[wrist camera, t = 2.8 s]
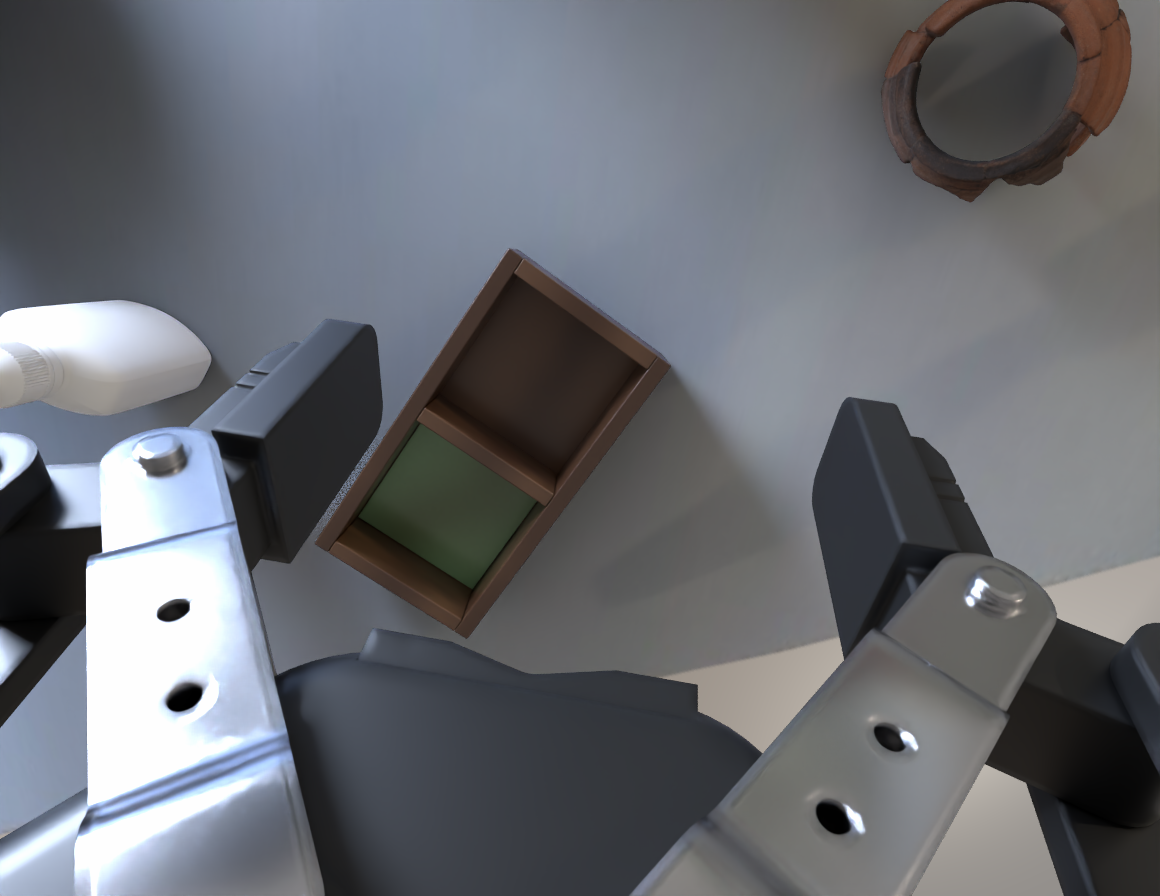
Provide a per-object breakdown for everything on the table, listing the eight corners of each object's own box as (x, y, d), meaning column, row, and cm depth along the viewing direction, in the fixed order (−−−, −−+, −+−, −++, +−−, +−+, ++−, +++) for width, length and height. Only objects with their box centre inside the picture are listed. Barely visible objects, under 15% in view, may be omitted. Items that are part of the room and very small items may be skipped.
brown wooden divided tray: (341, 515, 39) (313, 544, 35) (517, 249, 35) (508, 247, 31) (478, 602, 40) (466, 639, 36) (662, 354, 36) (671, 366, 32)
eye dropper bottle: (159, 410, 37) (-34, 477, 26) (93, 315, 36) (-141, 341, 24) (226, 372, 37) (59, 423, 25) (162, 275, 35) (-45, 281, 24)
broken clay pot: (1048, 219, 35) (1054, 232, 28) (864, 163, 38) (831, 162, 31) (1213, -71, 29) (1270, -140, 22) (978, -108, 32) (967, -178, 26)
